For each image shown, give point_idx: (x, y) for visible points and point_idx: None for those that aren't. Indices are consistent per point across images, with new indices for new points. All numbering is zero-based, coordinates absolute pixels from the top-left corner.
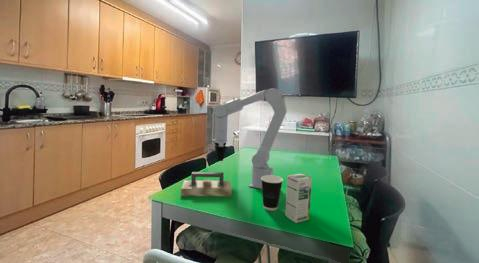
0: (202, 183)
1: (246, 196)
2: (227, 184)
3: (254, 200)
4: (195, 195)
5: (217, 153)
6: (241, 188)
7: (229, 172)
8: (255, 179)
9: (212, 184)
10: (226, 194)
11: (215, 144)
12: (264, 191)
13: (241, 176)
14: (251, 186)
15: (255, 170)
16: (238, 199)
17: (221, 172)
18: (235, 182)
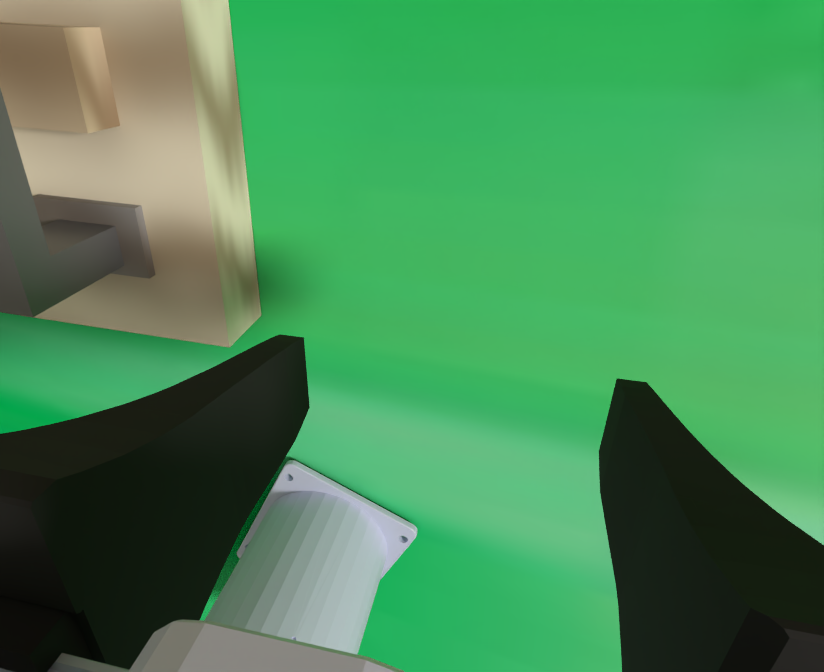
0: (75, 8)
1: (100, 389)
2: (121, 300)
3: (50, 417)
4: None
5: (150, 403)
6: None
7: (793, 402)
8: (252, 544)
9: (79, 143)
10: None
11: (730, 590)
12: None
13: (592, 480)
14: (279, 475)
15: (213, 616)
16: (32, 326)
17: (24, 294)
18: (403, 386)
